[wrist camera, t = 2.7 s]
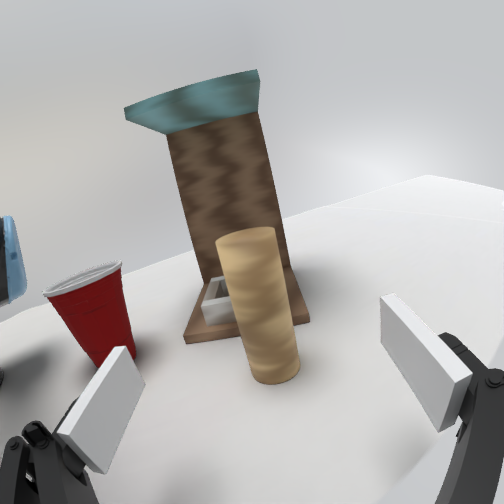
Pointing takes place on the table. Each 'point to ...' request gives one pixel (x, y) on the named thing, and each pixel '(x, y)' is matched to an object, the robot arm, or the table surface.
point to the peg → (260, 302)
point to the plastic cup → (94, 310)
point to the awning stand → (219, 184)
